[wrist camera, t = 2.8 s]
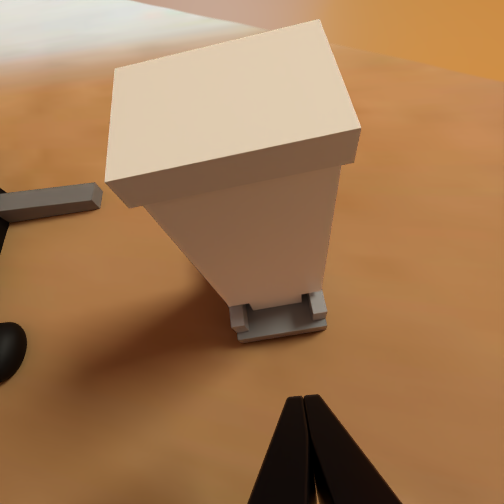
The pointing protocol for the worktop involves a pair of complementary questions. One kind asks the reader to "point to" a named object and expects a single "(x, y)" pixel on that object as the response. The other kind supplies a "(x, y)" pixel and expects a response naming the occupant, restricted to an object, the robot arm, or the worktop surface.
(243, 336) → the switch base
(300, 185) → the tall lidded box
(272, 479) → the robot arm
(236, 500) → the worktop surface
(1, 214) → the door handle
